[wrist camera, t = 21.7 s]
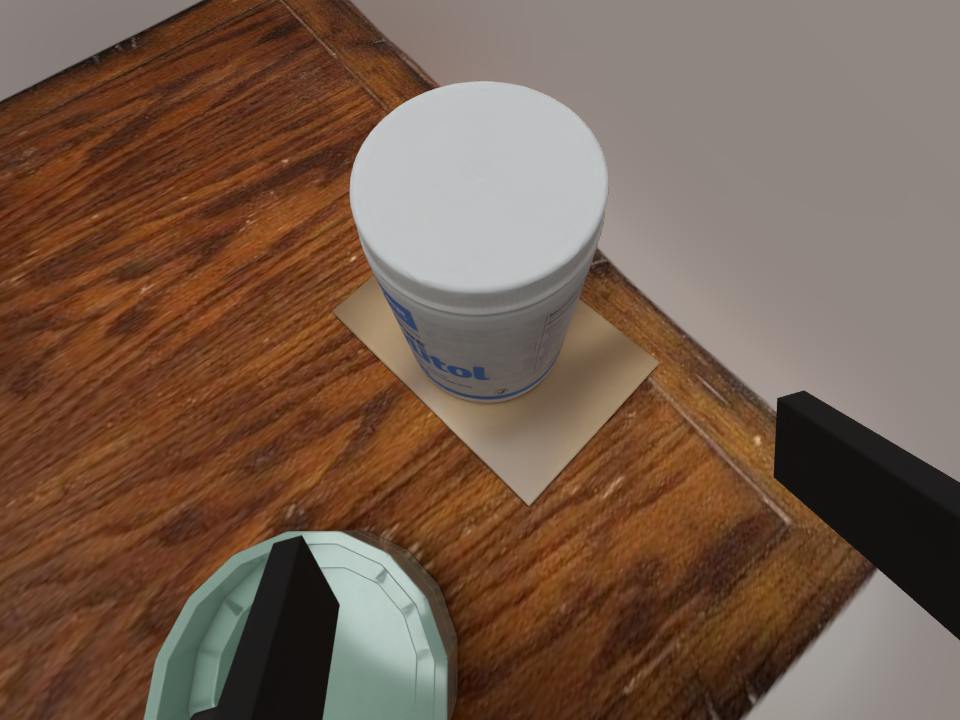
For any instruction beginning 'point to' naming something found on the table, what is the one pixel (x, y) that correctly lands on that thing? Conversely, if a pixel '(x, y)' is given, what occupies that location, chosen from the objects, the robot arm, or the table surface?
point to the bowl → (358, 640)
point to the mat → (529, 417)
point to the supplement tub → (481, 230)
